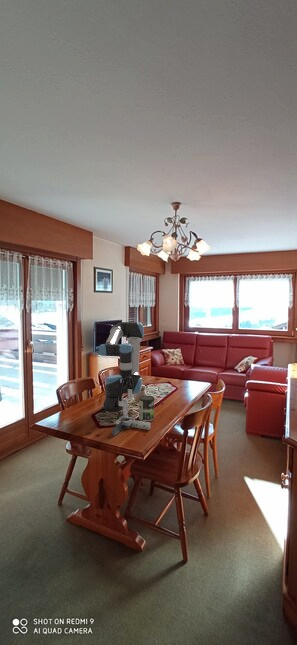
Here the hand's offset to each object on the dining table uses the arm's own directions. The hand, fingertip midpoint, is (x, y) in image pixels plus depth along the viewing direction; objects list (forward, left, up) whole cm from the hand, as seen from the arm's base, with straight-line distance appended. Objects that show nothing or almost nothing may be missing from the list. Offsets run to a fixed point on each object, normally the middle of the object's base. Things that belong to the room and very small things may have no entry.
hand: (125, 402), depth 192 cm
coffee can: (+8, +16, -15) cm, 23 cm away
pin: (0, 0, -15) cm, 15 cm away
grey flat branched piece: (+6, -6, -15) cm, 17 cm away
